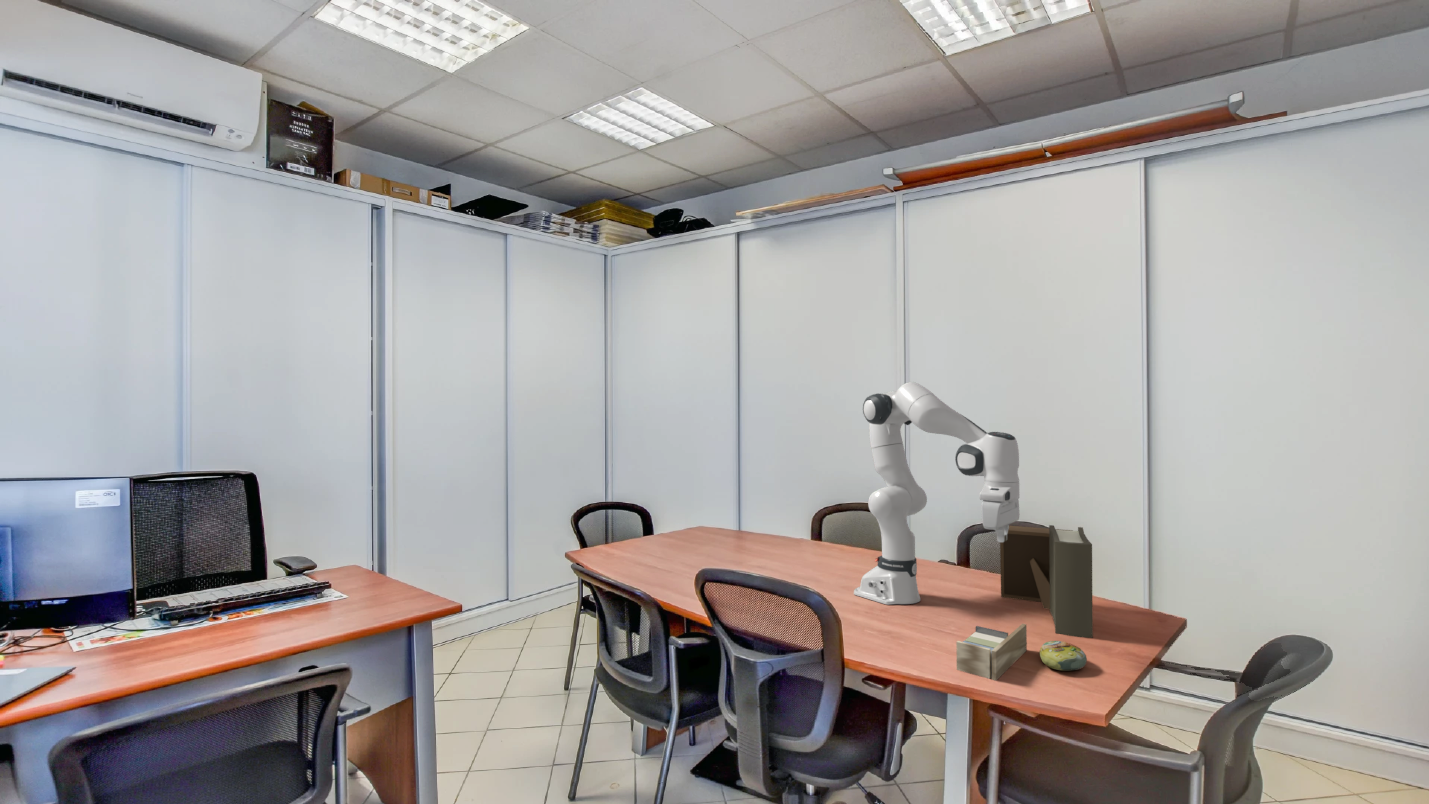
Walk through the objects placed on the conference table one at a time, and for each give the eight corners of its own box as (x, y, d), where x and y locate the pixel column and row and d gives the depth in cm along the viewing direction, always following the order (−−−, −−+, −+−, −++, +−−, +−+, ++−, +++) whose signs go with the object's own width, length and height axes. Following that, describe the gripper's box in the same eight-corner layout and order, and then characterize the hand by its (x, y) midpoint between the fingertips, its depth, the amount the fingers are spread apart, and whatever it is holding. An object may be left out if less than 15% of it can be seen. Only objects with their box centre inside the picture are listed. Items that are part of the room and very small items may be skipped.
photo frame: (1001, 594, 219) (1001, 522, 220) (1072, 602, 209) (1071, 528, 210) (999, 604, 206) (999, 528, 207) (1075, 614, 196) (1074, 534, 197)
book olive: (964, 663, 160) (964, 640, 160) (970, 658, 163) (970, 636, 163) (997, 672, 155) (996, 648, 155) (1002, 667, 158) (1002, 643, 158)
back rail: (956, 669, 156) (956, 641, 157) (990, 641, 175) (990, 616, 175) (996, 680, 150) (995, 651, 150) (1026, 650, 169) (1026, 624, 169)
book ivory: (970, 658, 163) (969, 636, 163) (975, 654, 166) (975, 631, 166) (1002, 667, 158) (1002, 643, 158) (1007, 662, 161) (1006, 639, 161)
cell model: (1033, 661, 156) (1038, 624, 167) (1042, 685, 157) (1047, 647, 169) (1080, 662, 150) (1082, 624, 161) (1088, 688, 151) (1090, 648, 163)
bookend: (975, 653, 166) (975, 626, 167) (984, 645, 172) (984, 620, 172) (1007, 661, 161) (1007, 634, 161) (1015, 653, 166) (1015, 626, 166)
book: (1093, 640, 177) (1092, 543, 176) (1055, 636, 181) (1055, 540, 180) (1083, 615, 196) (1082, 527, 196) (1049, 611, 200) (1049, 525, 200)
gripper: (1001, 486, 181) (1002, 534, 181) (976, 494, 166) (977, 545, 166) (1025, 488, 177) (1025, 536, 177) (1001, 496, 162) (1002, 549, 161)
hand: (1002, 541), depth 171 cm, fingers closed
